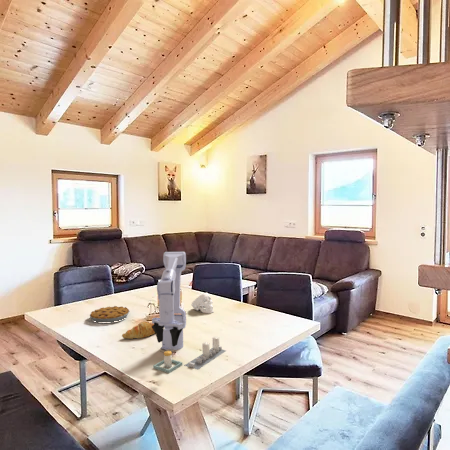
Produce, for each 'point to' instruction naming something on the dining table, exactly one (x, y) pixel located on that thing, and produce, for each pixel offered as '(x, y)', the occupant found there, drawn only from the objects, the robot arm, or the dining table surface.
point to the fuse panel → (204, 359)
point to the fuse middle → (206, 350)
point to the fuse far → (216, 344)
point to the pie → (109, 314)
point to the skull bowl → (203, 303)
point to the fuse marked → (167, 359)
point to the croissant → (139, 331)
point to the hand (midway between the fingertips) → (167, 343)
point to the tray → (165, 368)
